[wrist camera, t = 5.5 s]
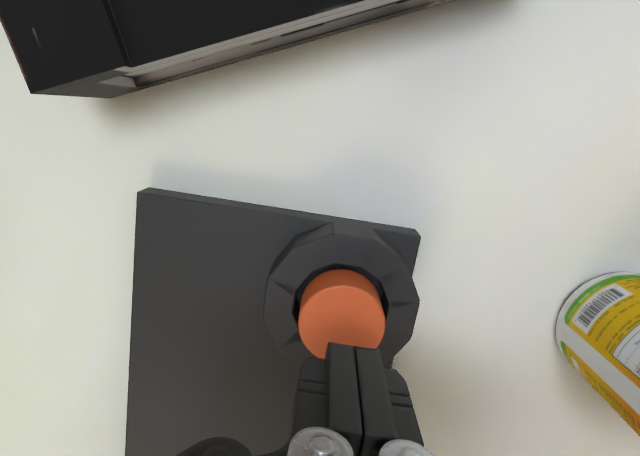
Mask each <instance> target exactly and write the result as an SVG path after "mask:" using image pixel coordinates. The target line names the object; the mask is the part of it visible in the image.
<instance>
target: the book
mask: <svg viewBox="0 0 640 456" xmlns="http://www.w3.org/2000/svg"><path fill="white" fill-rule="evenodd" d="M451 1H454V0H0V21H1V23H2V26H3V28H4V30H5V33H6V35H7V38H8V40H9V42H10V45H11V47H12V50H13V52H14V54H15V57H16V59H17V62H18V64H19V66H20V69H21V71H22V74H23V76H24V78H25V81H26V83H27V86H28V88H29V90H30V93H31V94H47V95H64V96H80V97H97V98H113V97H117V96H120V95H124V94H127V93H131V92H134V91H138V90H141V89H145V88H148V87H152V86H155V85H159V84H162V83H166V82H169V81H173V80H177V79H180V78H184V77H187V76H191V75H194V74H198V73H201V72H205V71H208V70H212V69H215V68H219V67H222V66H226V65H229V64H233V63H236V62H240V61H243V60H247V59H250V58H254V57H257V56H261V55H264V54H268V53H271V52H275V51H278V50H282V49H285V48H289V47H292V46H296V45H299V44H303V43H307V42H310V41H314V40H317V39H321V38H324V37H328V36H331V35H335V34H338V33H342V32H345V31H349V30H352V29H356V28H359V27H363V26H366V25H370V24H373V23H377V22H380V21H384V20H387V19H391V18H394V17H398V16H401V15H405V14H408V13H412V12H415V11H419V10H422V9H426V8H429V7H433V6H437V5H440V4H444V3H447V2H451Z"/></svg>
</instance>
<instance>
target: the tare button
mask: <svg viewBox="0 0 640 456" xmlns="http://www.w3.org/2000/svg"><path fill="white" fill-rule="evenodd" d="M298 329H299V334H300V337H301V340H302V341H303V343H304V345H305V346H306V348H307V349H308V350H309V351H310V352H311V353H312V354H314V355H315V356H316V357H318V358H322V359H325V354H326V349H327V345H328V342H333V343H340V344H346V345H353V347H354V346H360V347H366V348H373V349H376V348H377V347H378V345H379V344H380V342H381V340H382V338H383V336H384V332H385V316H384V312H383V309H382V305H381V302H380V298H379V295H378V292H377V290H376V288H375V287H374V285H373V284H372V283H371V282H370V281H369V280H368V279H367V278H366V277H365V276H363V275H361V274H359V273H357V272H355V271H352V270H347V269H335V270H330V271H326V272H324V273H322V274H320V275H318V276H317V277H315V278H314V279H313V280H312V281H311V282H310V283H309V284H308V285H307V287H306V288H305V290H304V292H303V295H302V299H301V305H300V312H299V320H298Z"/></svg>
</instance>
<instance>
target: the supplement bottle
mask: <svg viewBox="0 0 640 456" xmlns="http://www.w3.org/2000/svg"><path fill="white" fill-rule="evenodd" d="M556 336H557V342H558V345H559V348H560V350H561V352H562V354H563V356H564V357H565V358H566V360H567V361H568V362H569V363H570V364H571V365H572V367H573V368H574V369H575V370H576V371H577V372H578V373H579V374H580V375H581V376H582V377H583V378H584V379H585V380H586V381H587V382H588V383H589V384H590V385H591V386H592V387H593V388H594V389H595V390H596V391H597V392H598V393H599V394H600V395H601V396H602V397H603V398H604V399H605V400H606V401H607V402H608V403H609V405H610V406H611V407H612V408H613V409H614V410H615V411H616V412H617V413H618V414H619V415H620V416H621V417H622V418H623V419H624V420H625V421H626V422H627V424H628V425H629V426H630V427H631V428H632V429H633V430H634V431H635V432H636V433H637V434H638V435H639V436H640V274H638V273H632V272H615V273H609V274H605V275H601V276H599V277H596V278H594V279H592V280H590V281H588V282H587V283H585V284H583V285H582V286H581V287H579V288H578V289H577V290H576V291H574V292H573V293H572V295H571V296H570V297H569V298H568V299H567V300H566V302H565V303H564V305H563V307H562V309H561V311H560V313H559V316H558V319H557V325H556Z"/></svg>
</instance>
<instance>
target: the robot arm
mask: <svg viewBox="0 0 640 456" xmlns="http://www.w3.org/2000/svg"><path fill="white" fill-rule="evenodd" d="M176 456H252V455H251V453H250V451H249V450H248V448H247V447H246V446H245V445H243V444H242V443H240V442H239V441H237V440H234V439H231V438H226V437H213V438H208V439H205V440H202V441H200V442H198V443H196V444H194V445H193V446H191V447H189V448H188V449H186V450H184V451H183V452H181V453H179V454H178V455H176ZM255 456H435V455H434V454H433V453H432V452H431V451H430V450H428V449H427V448H425V447H424V443H423V440H422V436H421V433H420V429H419V426H418V422H417V418H416V415H415V411H414V409H413V404H412V401H411V398H410V394H409V390H408V387H407V383H406V381H405V380H404V379H403V378H402V376H401V375H400V374H399V373H398V372H397V370H394V369H388V368H384V367H383V362H382V357H381V353H380V350H379V349H373V348H366V347H360V346H354V347H353V345H346V344H340V343H333V342H328V345H327V349H326V354H325V359H322V358H316V357H308V358H307V359H306V360H305V361H304V362H303V363H302V364H301V366H300V370H299V376H298V382H297V388H296V394H295V399H294V405H293V411H292V420H291V428H290V437H289V441H288V442H287V443H286V444H285V445H284V446H283V447H282V448H280V449H278V450H276V451H274V452H271V453H268V454H263V455H255Z"/></svg>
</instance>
